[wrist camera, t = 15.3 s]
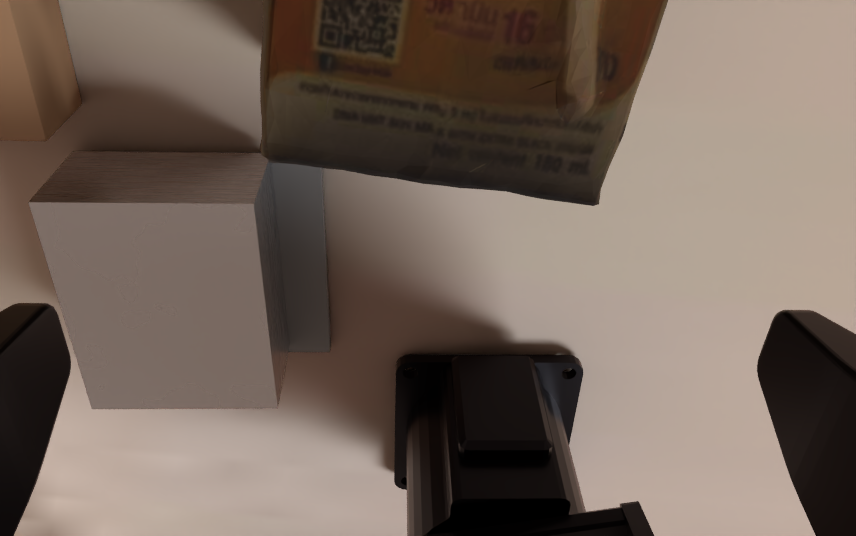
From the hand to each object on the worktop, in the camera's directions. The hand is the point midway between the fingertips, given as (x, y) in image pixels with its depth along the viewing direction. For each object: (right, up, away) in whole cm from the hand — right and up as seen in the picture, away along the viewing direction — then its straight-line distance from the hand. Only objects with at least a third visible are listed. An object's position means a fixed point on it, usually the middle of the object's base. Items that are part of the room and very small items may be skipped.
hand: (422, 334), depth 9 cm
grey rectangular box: (-7, +1, +13) cm, 15 cm away
